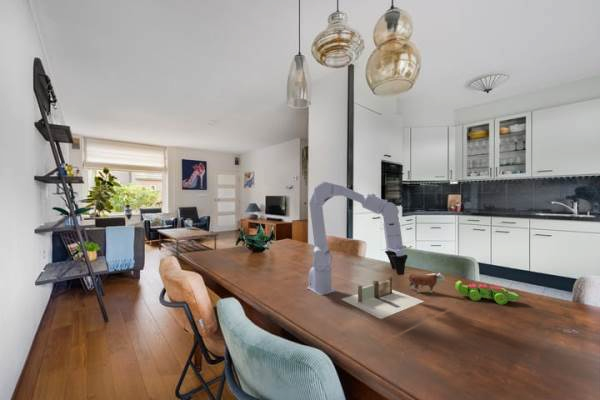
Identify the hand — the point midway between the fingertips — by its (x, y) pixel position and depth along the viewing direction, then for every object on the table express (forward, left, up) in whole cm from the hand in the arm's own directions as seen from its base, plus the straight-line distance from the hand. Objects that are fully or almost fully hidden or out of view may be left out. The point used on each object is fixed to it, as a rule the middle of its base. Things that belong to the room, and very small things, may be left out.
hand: (398, 271), depth 93 cm
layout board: (-3, -5, -11) cm, 12 cm away
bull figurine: (+1, +17, -11) cm, 20 cm away
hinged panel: (-6, -11, -10) cm, 16 cm away
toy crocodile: (+17, +29, -11) cm, 35 cm away
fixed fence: (-6, -1, -10) cm, 12 cm away
